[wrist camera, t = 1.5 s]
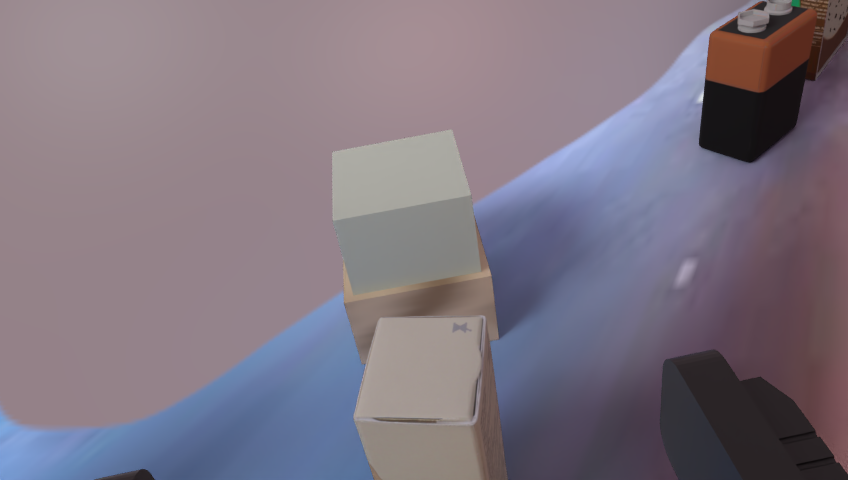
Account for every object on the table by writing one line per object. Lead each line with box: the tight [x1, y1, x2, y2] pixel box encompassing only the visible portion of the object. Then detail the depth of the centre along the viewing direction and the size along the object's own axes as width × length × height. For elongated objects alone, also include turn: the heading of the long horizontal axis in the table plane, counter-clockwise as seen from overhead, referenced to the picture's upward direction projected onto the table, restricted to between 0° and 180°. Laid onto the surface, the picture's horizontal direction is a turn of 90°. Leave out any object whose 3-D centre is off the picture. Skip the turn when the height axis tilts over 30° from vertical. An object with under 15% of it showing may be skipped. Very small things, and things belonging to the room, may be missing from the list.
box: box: [353, 315, 508, 480], centre depth 28 cm, size 5×4×11 cm
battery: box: [699, 0, 817, 162], centre depth 50 cm, size 4×7×10 cm, turn 131°
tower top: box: [332, 130, 481, 295], centre depth 39 cm, size 7×7×5 cm
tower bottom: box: [343, 217, 499, 364], centre depth 42 cm, size 8×8×5 cm
